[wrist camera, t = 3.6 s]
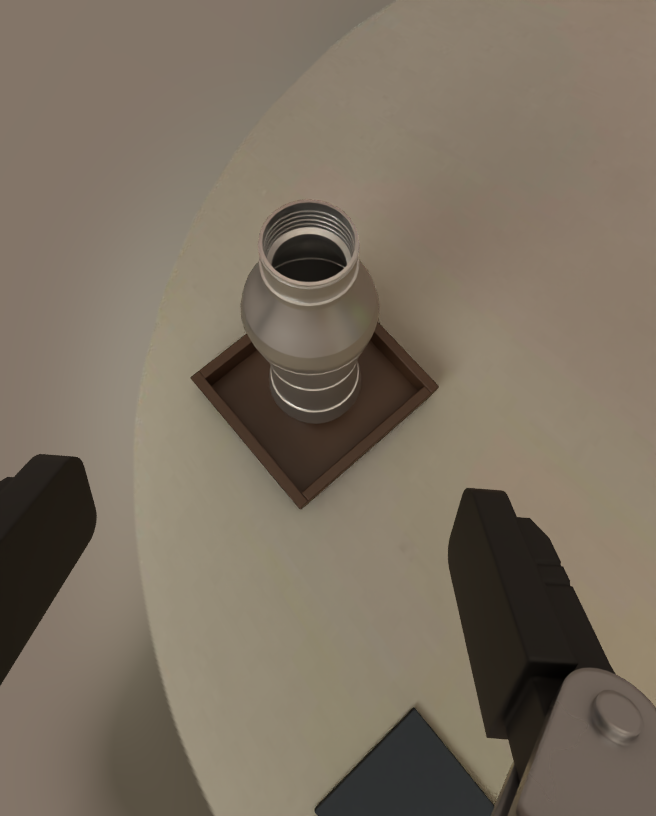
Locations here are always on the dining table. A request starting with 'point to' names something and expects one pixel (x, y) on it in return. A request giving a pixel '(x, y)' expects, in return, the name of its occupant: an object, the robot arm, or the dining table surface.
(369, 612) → the dining table surface
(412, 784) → the mat
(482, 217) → the dining table surface
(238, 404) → the tray
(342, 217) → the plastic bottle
